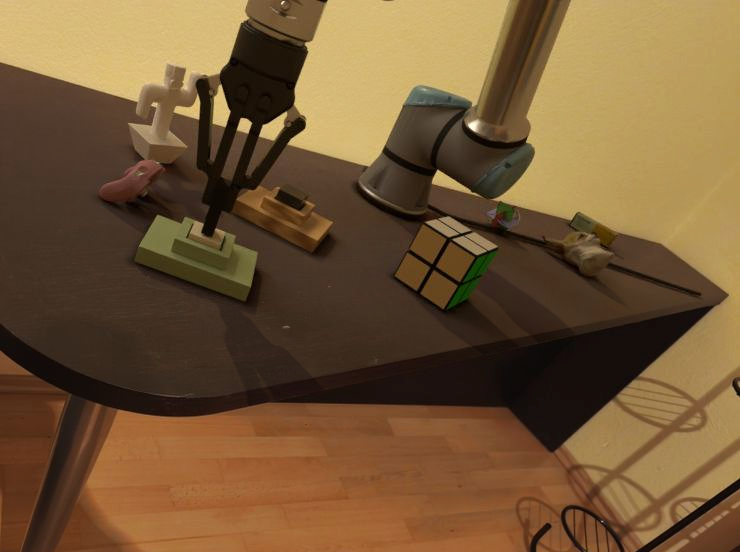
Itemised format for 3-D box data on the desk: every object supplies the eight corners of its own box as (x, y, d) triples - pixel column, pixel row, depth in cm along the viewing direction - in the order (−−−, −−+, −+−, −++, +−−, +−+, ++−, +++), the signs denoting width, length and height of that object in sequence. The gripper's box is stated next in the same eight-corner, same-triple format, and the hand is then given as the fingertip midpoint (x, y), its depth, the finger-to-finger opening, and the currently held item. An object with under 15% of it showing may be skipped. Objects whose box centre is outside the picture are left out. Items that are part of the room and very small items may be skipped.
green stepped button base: (252, 266, 86) (263, 240, 84) (244, 302, 78) (256, 274, 75) (153, 229, 84) (161, 202, 82) (134, 261, 76) (142, 232, 74)
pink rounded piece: (118, 220, 86) (152, 187, 83) (94, 194, 85) (126, 160, 81) (145, 198, 94) (176, 168, 91) (122, 174, 93) (153, 142, 90)
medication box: (567, 225, 175) (575, 212, 172) (571, 223, 176) (579, 210, 174) (607, 247, 169) (616, 234, 167) (610, 246, 171) (619, 233, 169)
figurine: (116, 143, 103) (138, 48, 95) (165, 148, 109) (190, 60, 101) (137, 165, 99) (162, 68, 91) (187, 168, 105) (215, 78, 97)
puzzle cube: (418, 266, 108) (447, 214, 103) (467, 299, 105) (500, 247, 99) (391, 276, 101) (422, 221, 95) (443, 312, 97) (478, 256, 92)
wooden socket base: (327, 234, 105) (337, 212, 103) (312, 253, 97) (322, 230, 95) (252, 196, 106) (261, 174, 104) (231, 212, 98) (239, 188, 96)
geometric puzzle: (500, 230, 137) (527, 204, 137) (476, 213, 140) (502, 188, 140) (502, 246, 143) (527, 222, 143) (479, 230, 147) (504, 206, 146)
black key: (304, 205, 101) (309, 194, 100) (297, 212, 98) (302, 200, 97) (281, 194, 101) (286, 183, 100) (274, 200, 98) (278, 188, 97)
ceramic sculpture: (603, 243, 132) (554, 212, 143) (580, 279, 136) (533, 246, 147) (633, 250, 137) (583, 220, 148) (609, 285, 142) (562, 252, 152)
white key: (220, 245, 81) (225, 231, 80) (216, 259, 78) (221, 244, 77) (190, 234, 81) (195, 220, 80) (185, 247, 77) (189, 233, 76)
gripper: (211, 9, 62) (150, 223, 74) (335, 63, 63) (255, 262, 76) (222, 2, 68) (163, 200, 80) (334, 51, 70) (260, 237, 82)
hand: (208, 230), depth 78 cm, fingers closed
